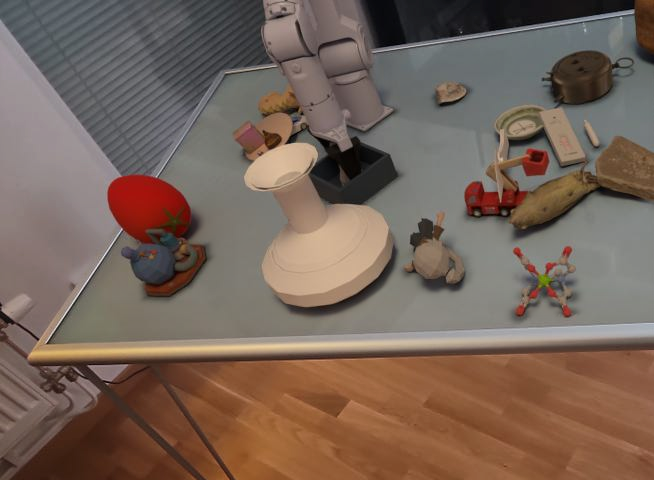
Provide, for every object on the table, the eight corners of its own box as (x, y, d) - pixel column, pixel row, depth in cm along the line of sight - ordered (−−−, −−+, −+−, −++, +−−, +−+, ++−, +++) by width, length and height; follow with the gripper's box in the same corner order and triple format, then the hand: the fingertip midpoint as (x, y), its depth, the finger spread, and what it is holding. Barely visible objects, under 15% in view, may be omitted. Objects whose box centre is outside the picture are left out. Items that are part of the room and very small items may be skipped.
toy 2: (421, 189, 91) (440, 229, 79) (467, 214, 95) (491, 256, 83) (387, 247, 95) (399, 294, 83) (432, 269, 99) (450, 317, 87)
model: (179, 297, 100) (143, 254, 93) (136, 295, 102) (97, 254, 95) (215, 246, 106) (184, 203, 99) (173, 246, 109) (140, 204, 102)
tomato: (172, 186, 116) (219, 216, 111) (138, 235, 116) (183, 268, 110) (116, 148, 104) (164, 180, 99) (78, 204, 104) (125, 238, 99)
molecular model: (523, 278, 85) (513, 237, 80) (580, 278, 83) (574, 235, 77) (513, 316, 81) (502, 276, 76) (573, 318, 79) (566, 276, 73)
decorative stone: (710, 170, 90) (618, 166, 99) (706, 131, 85) (609, 131, 94) (683, 215, 86) (589, 206, 95) (677, 177, 81) (579, 172, 90)
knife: (497, 121, 103) (503, 119, 102) (506, 147, 105) (511, 145, 105) (486, 173, 82) (493, 171, 81) (496, 203, 84) (504, 201, 84)
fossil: (433, 106, 118) (464, 113, 120) (437, 86, 116) (468, 93, 117) (433, 92, 124) (462, 98, 126) (436, 73, 122) (466, 80, 123)
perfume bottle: (252, 171, 121) (235, 156, 117) (239, 138, 128) (223, 123, 124) (299, 134, 120) (284, 118, 116) (283, 103, 126) (268, 86, 122)
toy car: (255, 147, 126) (248, 136, 124) (305, 120, 129) (299, 108, 127) (261, 154, 124) (254, 142, 122) (312, 125, 126) (306, 114, 124)
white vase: (274, 336, 89) (199, 234, 74) (280, 249, 102) (217, 148, 87) (405, 298, 88) (356, 187, 73) (395, 215, 101) (350, 107, 86)
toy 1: (261, 118, 137) (340, 78, 140) (272, 130, 128) (356, 87, 131) (248, 94, 133) (329, 54, 137) (258, 105, 124) (345, 62, 128)
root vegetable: (520, 232, 84) (508, 247, 89) (620, 176, 92) (604, 192, 97) (499, 201, 85) (488, 218, 89) (601, 148, 92) (586, 165, 97)
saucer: (529, 110, 111) (527, 97, 110) (561, 129, 106) (560, 116, 104) (485, 135, 110) (483, 122, 108) (516, 155, 104) (514, 142, 102)
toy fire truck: (471, 203, 98) (456, 150, 91) (555, 202, 94) (547, 147, 86) (466, 217, 96) (450, 164, 89) (551, 216, 92) (542, 161, 84)
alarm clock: (556, 113, 109) (644, 88, 109) (554, 84, 105) (645, 57, 105) (540, 85, 116) (622, 62, 116) (537, 57, 112) (622, 32, 112)
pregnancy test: (561, 167, 98) (561, 161, 97) (538, 116, 104) (539, 110, 103) (605, 157, 99) (606, 152, 98) (580, 108, 105) (581, 102, 104)
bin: (312, 193, 110) (302, 172, 107) (360, 158, 114) (350, 137, 111) (349, 213, 104) (339, 191, 101) (398, 176, 108) (389, 153, 104)
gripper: (355, 100, 93) (385, 176, 103) (322, 71, 102) (352, 143, 112) (313, 121, 91) (348, 195, 102) (284, 89, 100) (318, 161, 111)
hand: (348, 169), depth 107 cm, fingers open, 7 cm apart
